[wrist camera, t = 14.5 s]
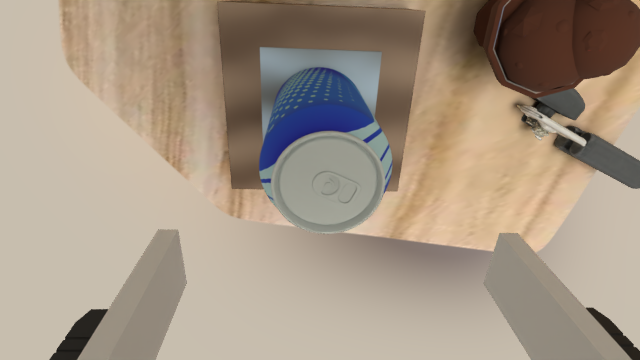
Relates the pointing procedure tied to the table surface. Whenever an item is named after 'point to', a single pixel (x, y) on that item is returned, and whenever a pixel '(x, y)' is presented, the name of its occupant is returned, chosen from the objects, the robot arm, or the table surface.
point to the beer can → (324, 153)
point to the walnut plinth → (308, 52)
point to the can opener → (580, 137)
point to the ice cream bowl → (556, 41)
